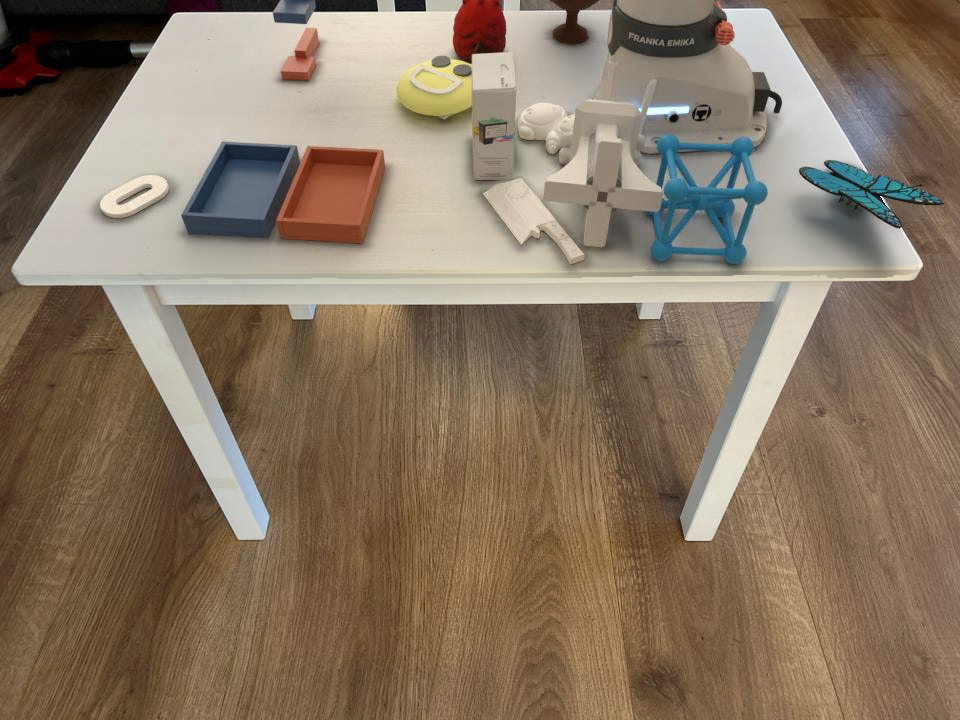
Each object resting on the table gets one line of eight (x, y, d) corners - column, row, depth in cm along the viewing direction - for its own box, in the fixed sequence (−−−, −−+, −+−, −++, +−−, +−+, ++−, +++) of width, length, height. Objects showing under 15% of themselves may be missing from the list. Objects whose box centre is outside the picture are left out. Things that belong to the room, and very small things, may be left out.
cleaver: (541, 273, 79) (542, 265, 78) (483, 194, 88) (483, 187, 88) (584, 260, 81) (585, 252, 80) (522, 183, 90) (522, 175, 89)
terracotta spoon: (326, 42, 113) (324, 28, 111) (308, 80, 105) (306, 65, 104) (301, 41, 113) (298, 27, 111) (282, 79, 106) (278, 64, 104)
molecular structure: (754, 132, 79) (657, 129, 79) (773, 191, 72) (667, 186, 73) (730, 210, 86) (642, 206, 87) (745, 269, 80) (649, 265, 80)
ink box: (471, 140, 96) (470, 50, 87) (511, 140, 96) (513, 50, 87) (472, 181, 90) (471, 89, 81) (514, 180, 90) (517, 88, 81)
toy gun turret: (550, 125, 72) (560, 52, 85) (538, 240, 82) (549, 159, 95) (676, 136, 72) (667, 61, 85) (649, 252, 81) (645, 168, 94)
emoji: (446, 110, 94) (503, 65, 99) (375, 81, 99) (433, 39, 104) (449, 137, 97) (504, 91, 102) (380, 108, 102) (436, 65, 107)
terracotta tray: (385, 167, 92) (383, 149, 90) (362, 243, 83) (360, 225, 81) (311, 163, 92) (307, 145, 90) (280, 238, 83) (275, 220, 81)
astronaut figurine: (572, 168, 92) (575, 147, 89) (503, 128, 97) (504, 107, 95) (619, 140, 95) (623, 118, 93) (550, 103, 101) (551, 82, 99)
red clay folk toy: (504, 45, 112) (506, -65, 101) (507, 69, 107) (510, -43, 96) (452, 46, 112) (449, -63, 100) (454, 70, 107) (450, -42, 96)
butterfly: (880, 254, 76) (910, 211, 73) (769, 192, 82) (793, 150, 79) (931, 224, 90) (958, 186, 87) (832, 173, 95) (854, 136, 92)
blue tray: (300, 162, 92) (296, 145, 91) (268, 238, 83) (263, 219, 81) (227, 159, 93) (221, 141, 91) (187, 233, 84) (180, 215, 82)
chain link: (115, 219, 84) (91, 201, 86) (117, 223, 85) (93, 206, 87) (176, 186, 88) (151, 169, 90) (177, 190, 89) (152, 173, 91)
